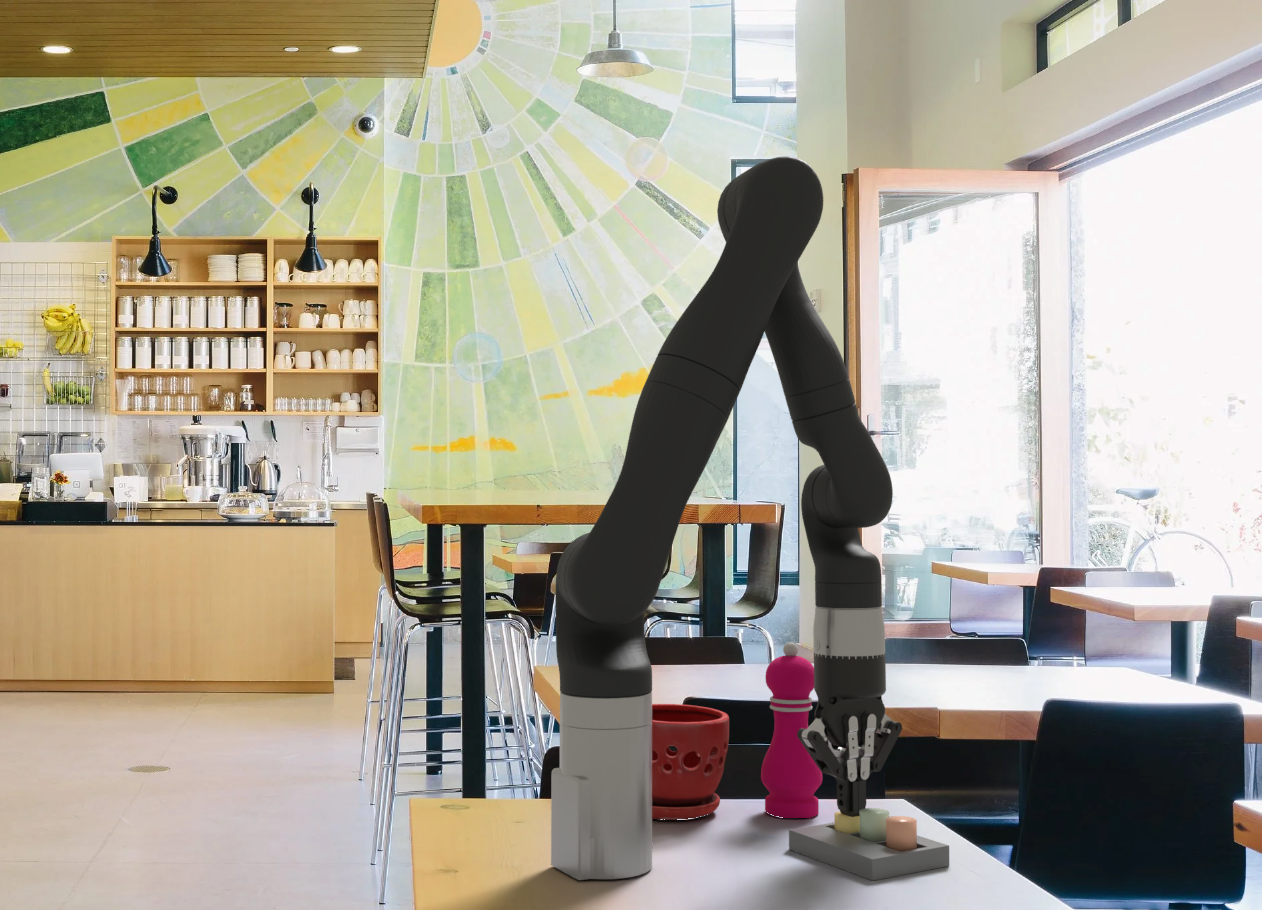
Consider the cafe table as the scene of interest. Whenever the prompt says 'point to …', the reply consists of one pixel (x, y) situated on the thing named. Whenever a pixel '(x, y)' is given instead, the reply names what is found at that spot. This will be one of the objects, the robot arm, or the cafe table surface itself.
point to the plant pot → (687, 760)
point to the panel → (866, 852)
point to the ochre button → (846, 823)
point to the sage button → (873, 824)
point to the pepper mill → (790, 739)
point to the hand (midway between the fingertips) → (852, 814)
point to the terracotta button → (901, 833)
